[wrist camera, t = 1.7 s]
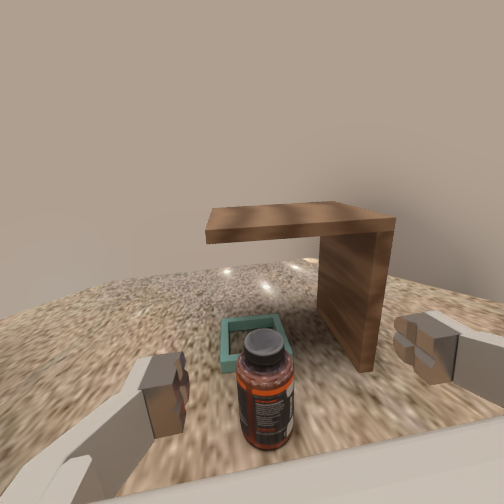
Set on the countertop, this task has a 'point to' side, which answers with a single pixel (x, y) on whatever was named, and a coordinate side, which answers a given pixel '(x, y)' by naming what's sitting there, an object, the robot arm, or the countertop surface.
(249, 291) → the countertop surface
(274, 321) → the socket
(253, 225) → the wooden l-shaped bracket
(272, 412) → the supplement bottle
